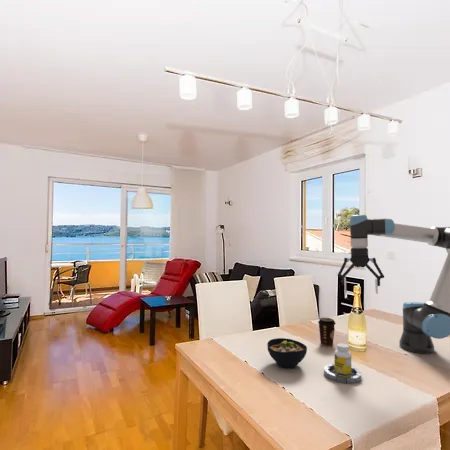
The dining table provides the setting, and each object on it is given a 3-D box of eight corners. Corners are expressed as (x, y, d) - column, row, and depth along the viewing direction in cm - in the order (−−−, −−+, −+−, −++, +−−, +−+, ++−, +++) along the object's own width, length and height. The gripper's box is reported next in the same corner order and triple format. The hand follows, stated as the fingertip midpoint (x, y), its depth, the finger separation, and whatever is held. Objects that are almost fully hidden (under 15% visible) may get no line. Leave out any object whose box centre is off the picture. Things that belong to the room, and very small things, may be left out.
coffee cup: (333, 341, 169) (333, 317, 170) (337, 347, 161) (337, 321, 161) (316, 341, 170) (316, 316, 170) (320, 346, 162) (319, 321, 162)
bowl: (283, 376, 127) (283, 351, 128) (259, 361, 142) (259, 339, 143) (315, 368, 135) (315, 345, 135) (289, 355, 150) (289, 333, 151)
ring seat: (361, 372, 132) (361, 367, 132) (360, 386, 119) (360, 381, 119) (326, 366, 138) (326, 361, 138) (322, 379, 125) (322, 374, 125)
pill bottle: (331, 370, 131) (331, 342, 132) (346, 370, 132) (346, 342, 132) (338, 378, 125) (338, 348, 125) (354, 377, 126) (354, 347, 126)
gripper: (387, 247, 149) (389, 292, 148) (332, 247, 158) (333, 289, 158) (389, 247, 142) (391, 295, 141) (331, 247, 151) (332, 292, 151)
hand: (360, 292), depth 150 cm, fingers open, 13 cm apart
